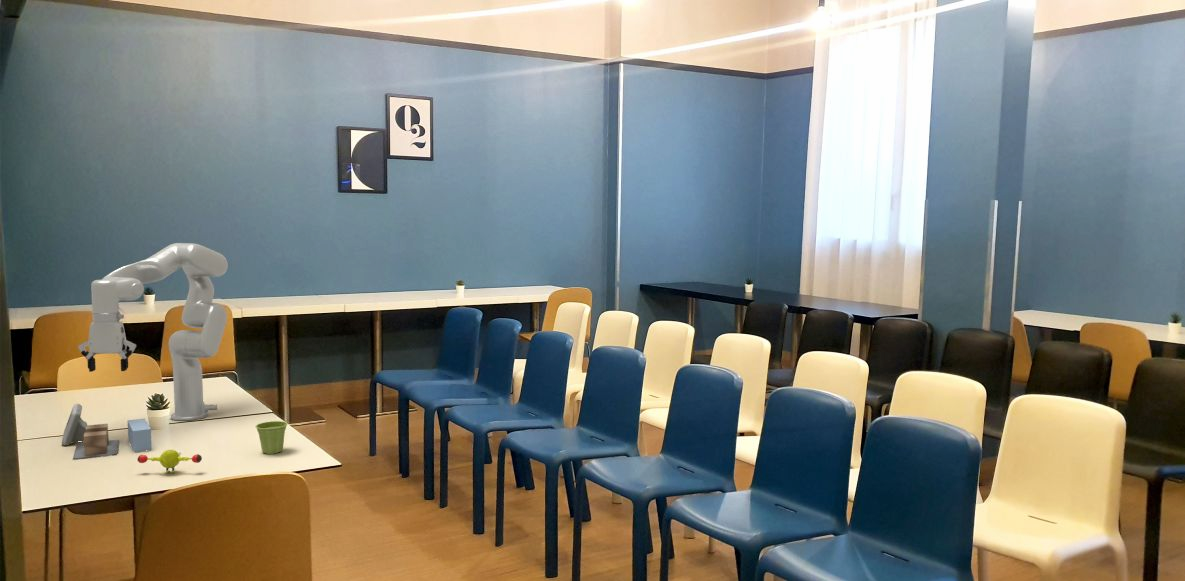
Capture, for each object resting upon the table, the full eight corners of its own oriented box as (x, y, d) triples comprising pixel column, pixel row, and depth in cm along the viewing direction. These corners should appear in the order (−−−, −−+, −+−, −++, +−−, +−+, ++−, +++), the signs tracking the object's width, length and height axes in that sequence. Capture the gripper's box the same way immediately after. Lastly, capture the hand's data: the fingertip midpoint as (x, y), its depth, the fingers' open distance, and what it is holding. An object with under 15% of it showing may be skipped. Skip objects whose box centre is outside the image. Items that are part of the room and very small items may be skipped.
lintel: (145, 439, 292) (144, 418, 291) (151, 450, 278) (150, 428, 278) (128, 441, 289) (127, 420, 288) (133, 453, 275) (132, 431, 275)
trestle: (119, 440, 289) (118, 421, 288) (117, 454, 273) (116, 434, 272) (76, 445, 283) (75, 425, 283) (72, 459, 267) (71, 439, 267)
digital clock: (65, 434, 296) (63, 403, 295) (95, 432, 299) (94, 401, 298) (51, 447, 281) (49, 414, 280) (83, 445, 283) (81, 412, 282)
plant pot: (254, 457, 271) (254, 429, 270) (257, 448, 280) (257, 421, 280) (287, 454, 274) (286, 427, 273) (289, 446, 283) (288, 420, 282)
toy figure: (206, 469, 258) (205, 447, 258) (198, 475, 253) (197, 452, 252) (143, 470, 258) (142, 447, 257) (134, 475, 252) (133, 452, 251)
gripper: (139, 316, 289) (141, 368, 290) (82, 316, 287) (85, 369, 288) (129, 319, 281) (132, 372, 283) (72, 319, 279) (74, 373, 281)
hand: (108, 370), depth 286 cm, fingers open, 9 cm apart
